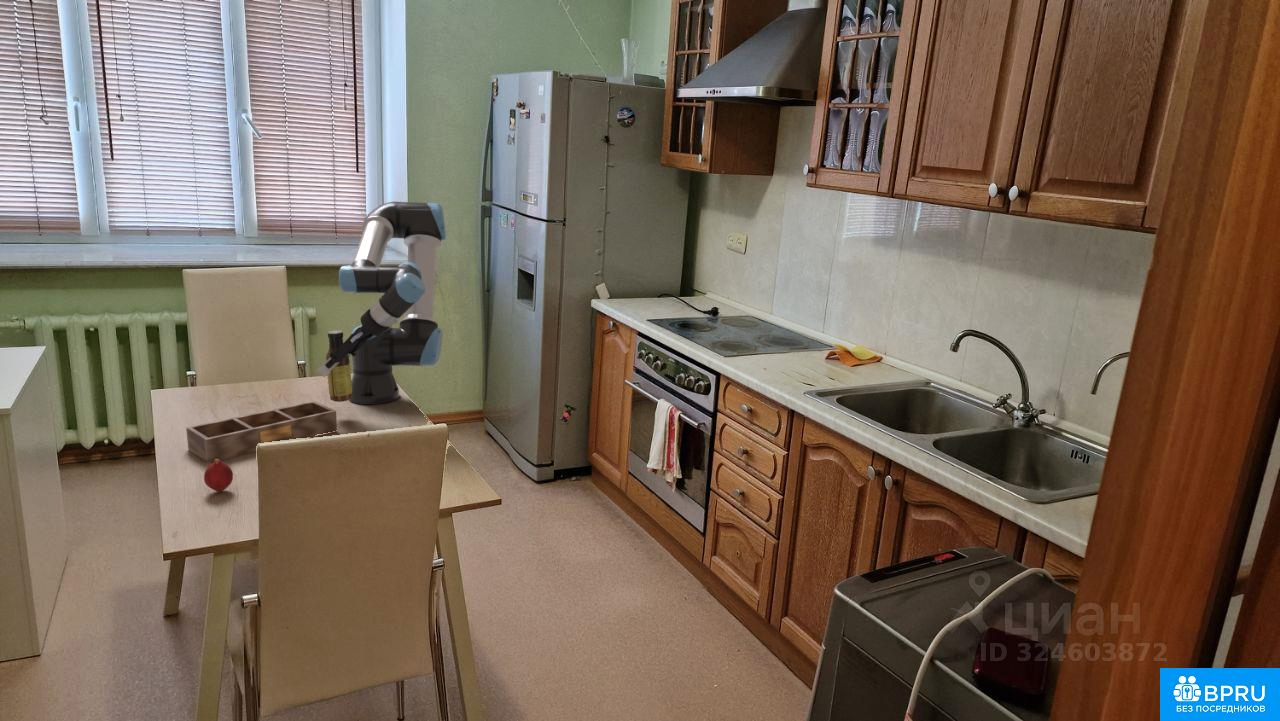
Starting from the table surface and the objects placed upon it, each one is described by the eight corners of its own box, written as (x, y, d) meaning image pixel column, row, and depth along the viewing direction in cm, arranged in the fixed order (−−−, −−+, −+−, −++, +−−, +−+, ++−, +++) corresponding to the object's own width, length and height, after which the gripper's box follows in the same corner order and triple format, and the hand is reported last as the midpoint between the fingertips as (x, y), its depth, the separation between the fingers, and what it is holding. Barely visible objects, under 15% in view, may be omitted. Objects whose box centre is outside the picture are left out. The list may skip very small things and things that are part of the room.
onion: (212, 486, 189) (209, 453, 187) (238, 486, 189) (235, 454, 187) (201, 497, 183) (197, 463, 181) (228, 497, 184) (225, 463, 181)
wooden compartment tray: (315, 421, 234) (314, 400, 233) (337, 432, 226) (336, 411, 225) (188, 449, 209) (186, 427, 208) (208, 463, 201) (206, 440, 200)
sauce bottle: (357, 397, 238) (353, 330, 233) (343, 403, 232) (339, 335, 227) (338, 394, 240) (334, 328, 235) (323, 400, 234) (319, 332, 229)
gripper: (374, 335, 220) (320, 389, 226) (402, 320, 238) (351, 370, 244) (354, 315, 219) (300, 369, 225) (384, 301, 237) (333, 351, 243)
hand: (327, 369), depth 234 cm, fingers closed on sauce bottle, 6 cm apart
